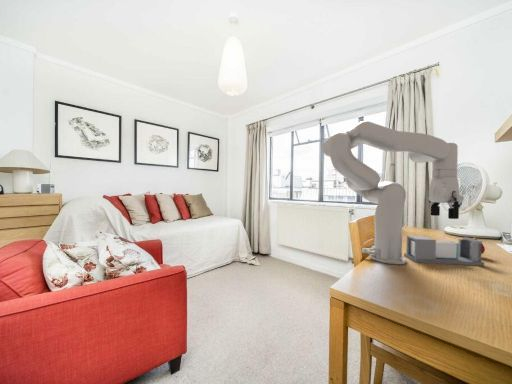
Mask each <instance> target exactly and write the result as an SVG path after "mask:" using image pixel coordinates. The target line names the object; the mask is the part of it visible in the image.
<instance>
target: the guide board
mask: <svg viewBox="0 0 512 384" xmlns="http://www.w3.org/2000/svg"><path fill="white" fill-rule="evenodd" d="M411 240H415V256H413V255H411V254H410V244H411ZM436 241H437V240H436V239H435V238H431V237H428V236H426V235H425V236H424V235H406V253H405V252H404V253H403V257H404V258H406V259H409V260H411V261H413V263H420V264H421V263H422V264H441V265H464V266H465V265H466V266H467V265H468V266H485V262H484V261H482V260H481V262H476V261H470V258H467V257H460V256H458V259H452V258H435V255H436Z"/></svg>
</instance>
